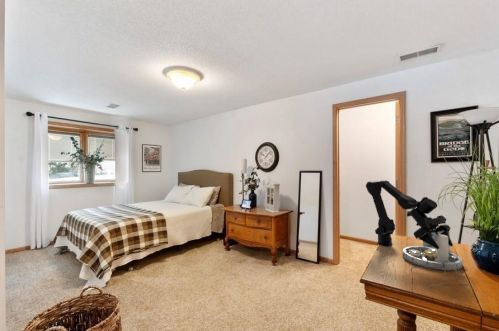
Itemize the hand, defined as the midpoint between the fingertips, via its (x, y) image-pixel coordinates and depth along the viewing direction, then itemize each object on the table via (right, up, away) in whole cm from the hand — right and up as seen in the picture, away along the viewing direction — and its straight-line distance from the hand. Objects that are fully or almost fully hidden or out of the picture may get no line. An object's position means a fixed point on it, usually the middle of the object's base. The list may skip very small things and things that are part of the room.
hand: (445, 247), depth 112 cm
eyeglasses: (-13, -10, -12) cm, 21 cm away
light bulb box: (+14, -9, +23) cm, 28 cm away
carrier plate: (-1, -9, +8) cm, 12 cm away
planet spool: (0, -8, +1) cm, 8 cm away
